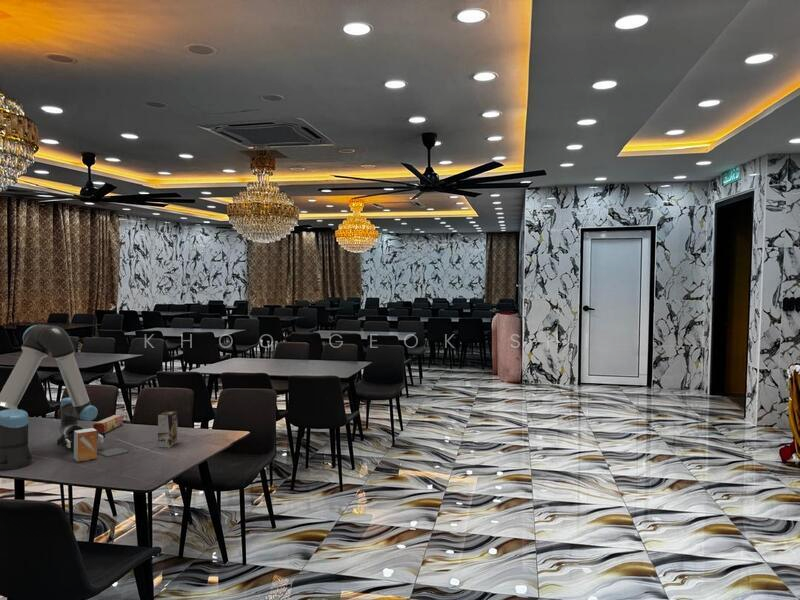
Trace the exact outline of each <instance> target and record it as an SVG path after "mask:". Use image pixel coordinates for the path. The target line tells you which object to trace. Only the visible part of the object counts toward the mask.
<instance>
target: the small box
mask: <svg viewBox="0 0 800 600" xmlns="http://www.w3.org/2000/svg"><path fill="white" fill-rule="evenodd" d="M97 452H98V439H97V430H96V429H94V428H93V427H90V428H83V429H82V430H76V431H74V442H73V459H74V460H75V461H76V462H78V463H79V462H81V461H83V462H85V461H84V460H87V461H90V459H92V460H94V459H97V458H98V453H97Z"/></svg>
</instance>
